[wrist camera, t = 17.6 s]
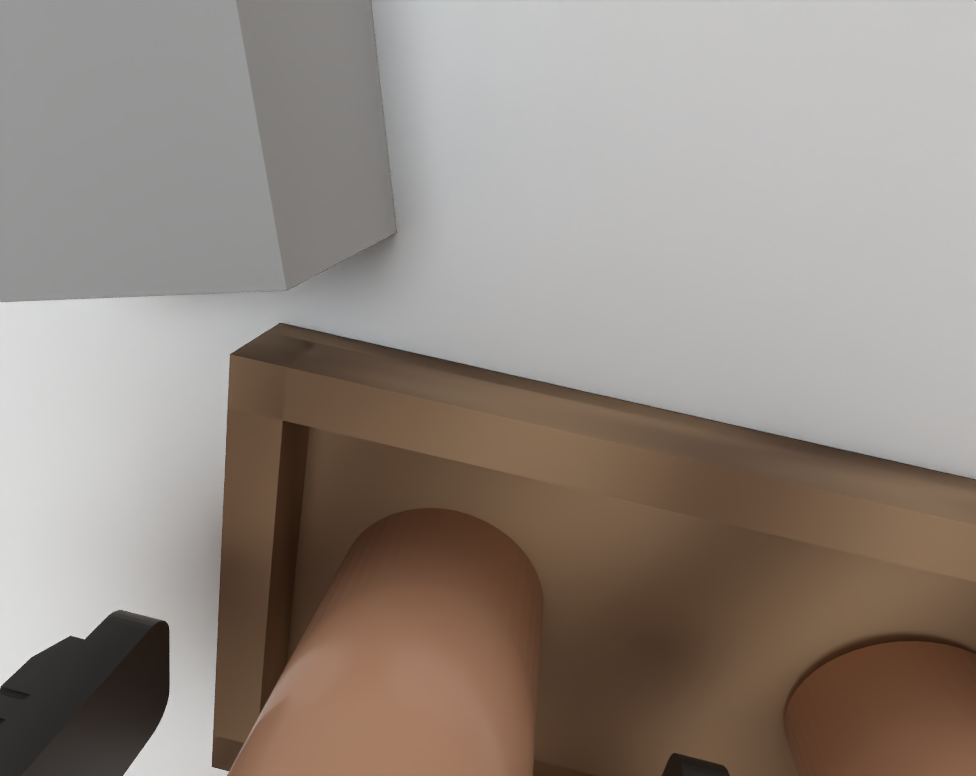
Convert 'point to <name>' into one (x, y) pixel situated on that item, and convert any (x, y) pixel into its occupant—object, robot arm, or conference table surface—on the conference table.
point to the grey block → (187, 145)
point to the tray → (584, 545)
